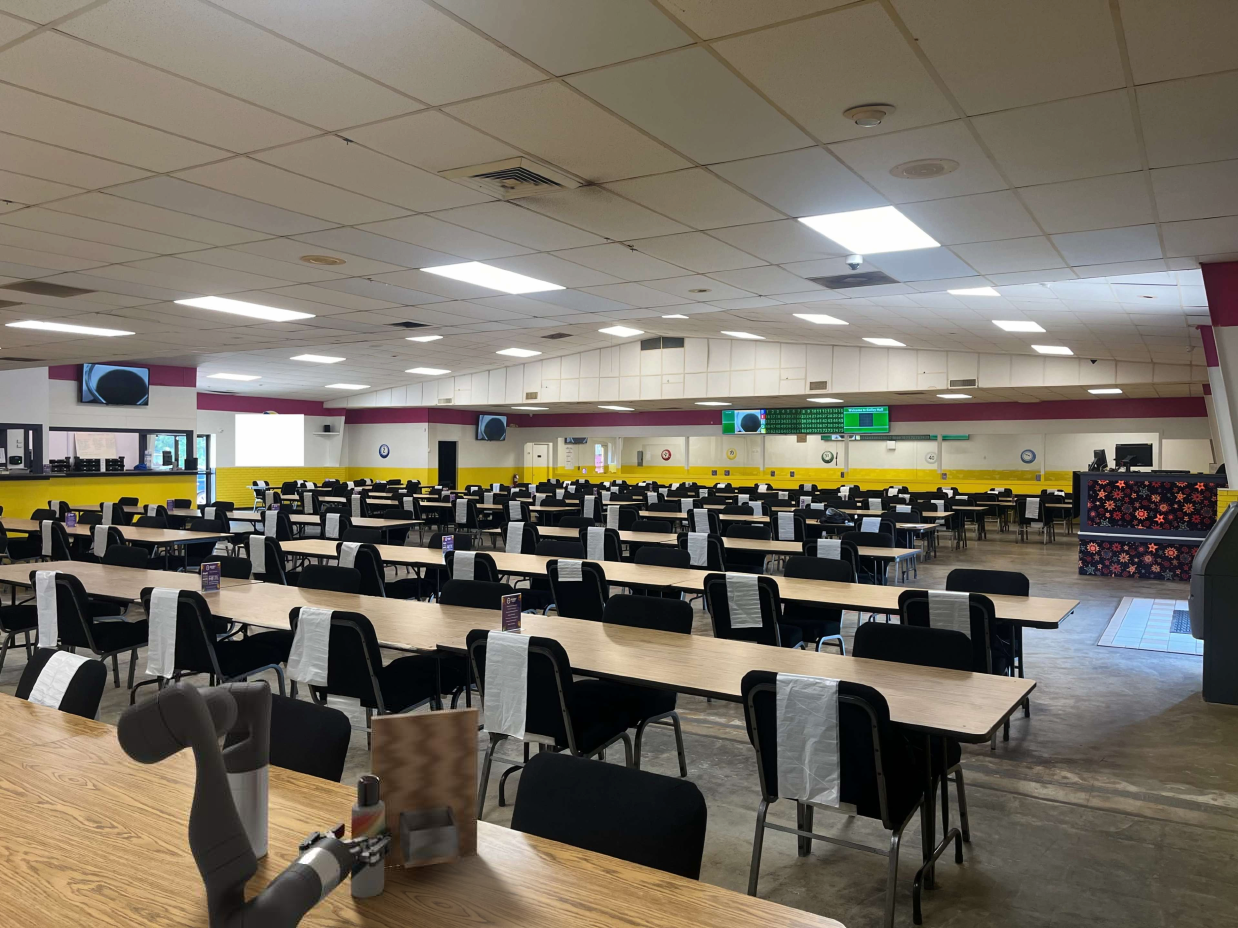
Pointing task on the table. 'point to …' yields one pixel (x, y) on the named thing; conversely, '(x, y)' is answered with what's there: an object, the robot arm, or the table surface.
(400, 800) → the bracket
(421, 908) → the table surface
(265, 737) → the robot arm
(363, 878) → the lotion bottle
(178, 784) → the table surface
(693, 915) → the table surface
